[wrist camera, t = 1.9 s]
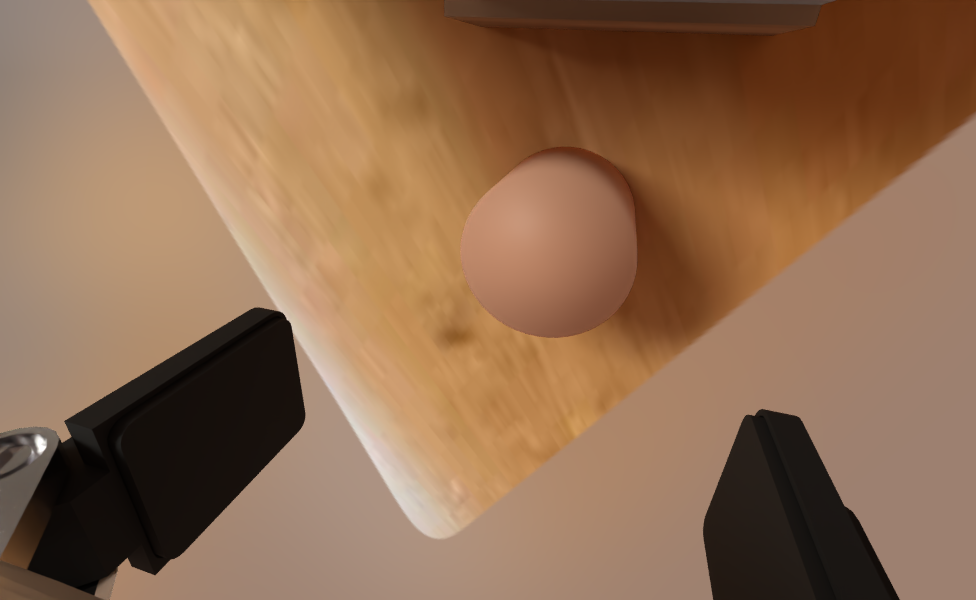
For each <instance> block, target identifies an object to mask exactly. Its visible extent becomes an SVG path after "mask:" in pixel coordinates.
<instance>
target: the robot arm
mask: <svg viewBox="0 0 976 600" xmlns="http://www.w3.org/2000/svg"><path fill="white" fill-rule="evenodd" d="M304 421H305V408H304V402H303V396H302V389H301V383H300V377H299V371H298V364H297V358H296V352H295V345H294V340H293V333H292V327H291V323H290V322H289V321H288V320H287V319H286V317H285V315H284V314H283V313H281V312H279V311H274V310H269V309H264V308H253V309H251V310H249V311H247V312H246V313H244V314H242V315H241V316H239V317H237V318H236V319H234V320H232V321H231V322H229V323H227V324H226V325H224V326H222V327H221V328H219V329H217V330H216V331H214V332H212V333H211V334H209V335H207V336H206V337H204V338H202V339H201V340H199V341H197V342H196V343H194V344H192V345H191V346H189V347H187V348H186V349H184V350H182V351H180V352H179V353H177V354H175V355H174V356H172V357H170V358H169V359H167V360H165V361H164V362H162V363H160V364H159V365H157V366H155V367H154V368H152V369H151V370H149V371H147V372H146V373H144V374H142V375H140V376H139V377H137V378H135V379H134V380H132V381H130V382H129V383H127V384H125V385H124V386H122V387H120V388H119V389H117V390H115V391H114V392H112V393H110V394H109V395H107V396H106V397H104V398H102V399H100V400H99V401H97V402H95V403H94V404H92V405H91V406H89V407H87V408H85V409H84V410H82V411H80V412H79V413H77V414H76V415H74V416H72V417H71V418H69V419H67V420H65V421H64V422H65V424H66V426H67V428H68V430H69V432H70V434H71V436H72V437H71V438H70V439H68V440H66V441H65V442H63V443H62V442H61V440H60V438H59V436H58V435H57V433H56V431H54V430H51V429H49V428H45V427H28V428H19V429H15V430H11V431H7V432H4V433H0V600H110V597H111V593H112V589H113V585H114V582H115V578H116V575H117V571H118V566H119V565H120V564H121V563H122V562H123V561H124V560H125V559H127V558H128V559H129V561H130V564H131V566H132V567H135V568H137V569H140V570H143V571H145V572H148V573H151V574H153V575H156V574H157V573H158V572H159V571H160V570H161V569H162V568H163V567H164V566H165V565H166V564H167V562H168V561H170V559H175V558H177V557H178V556H180V555H181V554H182V553H183V552H184V551H185V550H186V549H187V548H188V547H189V546H190V545H191V544H192V543H193V542H194V541H195V540H196V539H197V538H198V536H200V535H201V533H202V532H203V531H204V530H205V529H206V528H207V527H208V526H209V525H210V524H211V523H212V522H213V521H214V520H215V519H216V518H217V517H218V516H219V515H220V514H221V513H222V511H223V510H224V509H225V508H226V507H227V506H228V505H229V504H230V503H231V502H232V501H233V500H234V499H235V498H236V497H237V496H238V495H239V494H240V493H241V491H242V490H243V489H244V488H245V487H246V486H247V485H248V484H249V483H250V482H251V481H252V480H253V479H254V478H255V477H256V476H257V475H258V474H259V472H261V470H262V469H263V468H264V467H265V466H266V465H267V464H268V463H269V462H270V461H271V460H272V459H273V458H274V457H275V456H276V455H277V453H279V452H280V450H281V449H282V448H283V447H284V446H285V445H286V444H287V443H288V442H289V441H290V440H291V439H292V438H293V437H294V436H295V435H296V434H297V433H298V432H299V430H300V429H301V428H302V426H303V424H304ZM703 537H704V544H705V550H706V557H707V563H708V569H709V576H710V582H711V588H712V595H713V600H900V599H899V597H898V596H897V594H896V592H895V590H894V588H893V586H892V584H891V582H890V580H889V578H888V576H887V574H886V573H885V571H884V568H883V567H882V565H881V563H880V561H879V559H878V557H877V555H876V553H875V551H874V549H873V547H872V545H871V543H870V542H869V540H868V538H867V536H866V534H865V532H864V530H863V528H862V526H861V524H860V522H859V520H858V519H857V517H856V516H855V514H854V513H853V512H852V511H851V510H849V509H848V508H847V507H845V506H844V504H843V502H842V500H841V499H840V496H839V494H838V492H837V490H836V488H835V486H834V485H833V482H832V480H831V478H830V476H829V474H828V472H827V471H826V468H825V466H824V464H823V462H822V460H821V458H820V456H819V454H818V452H817V450H816V448H815V446H814V444H813V442H812V440H811V438H810V436H809V434H808V432H807V430H806V429H805V426H804V424H803V422H802V421H801V419H800V418H799V417H797V416H794V415H789V414H784V413H779V412H773V411H769V410H764V409H761V410H759V411H758V412H757V413H756V415H755V416H752V415H746V416H745V417H744V419H743V421H742V423H741V426H740V428H739V431H738V434H737V436H736V439H735V442H734V444H733V446H732V449H731V452H730V454H729V457H728V459H727V462H726V465H725V467H724V470H723V472H722V475H721V477H720V480H719V482H718V485H717V488H716V490H715V493H714V495H713V498H712V501H711V503H710V506H709V508H708V511H707V513H706V516H705V519H704V527H703Z"/></svg>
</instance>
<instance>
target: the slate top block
mask: <svg viewBox="0 0 976 600" xmlns="http://www.w3.org/2000/svg"><path fill="white" fill-rule="evenodd" d="M603 1H654V2H705V3H757V4H808V5H823V4H826V3H829V2H832V1H835V0H603Z"/></svg>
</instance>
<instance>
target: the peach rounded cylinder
mask: <svg viewBox="0 0 976 600" xmlns="http://www.w3.org/2000/svg"><path fill="white" fill-rule="evenodd" d="M461 262H462V268H463V272H464V275H465V278H466V281H467V283H468V285H469V287H470V289H471V291H472V293H473V294H474V296H475V297H476V299H477V300H478V301H479V303H480V304H481V305H482V306H483V307H484V308H485V309H486V310H487V311H488V312H489V313H490V314H491V315H492V316H493V317H495V318H496V319H497V320H499V321H500V322H502V323H503V324H505V325H507V326H509V327H511V328H513V329H515V330H517V331H520V332H523V333H525V334H529V335H534V336H539V337H554V338H558V337H567V336H572V335H577V334H580V333H583V332H586V331H589V330H591V329H593V328H595V327H597V326H598V325H600V324H601V323H603V322H604V321H606V320H607V319H608V318H610V317H611V316H612V315H613V314H614V313H615V312H616V311H617V310H618V309H619V308H620V306H621V305H622V304H623V302H624V301H625V299H626V298H627V296H628V294H629V292H630V290H631V288H632V286H633V283H634V279H635V276H636V270H637V236H636V217H635V206H634V200H633V196H632V193H631V190H630V188H629V186H628V184H627V182H626V180H625V179H624V177H623V176H622V174H621V173H620V172H619V171H618V170H617V169H616V168H615V167H614V166H613V165H612V164H611V163H610V162H609V161H607V160H606V159H604V158H603V157H601V156H599V155H597V154H595V153H593V152H591V151H588V150H584V149H581V148H574V147H556V148H550V149H546V150H542V151H540V152H537V153H535V154H533V155H531V156H529V157H528V158H526V159H524V160H523V161H522V162H521V163H519V164H518V165H517V166H516V167H515V168H514V169H512V170H511V171H510V172H509V173H508V174H507V175H506V176H505V177H504V178H502V179H501V180H500V181H499V182H498V183H497V184H496V185H495V186H493V187H492V188H491V189H490V190H489V191H488V192H487V193H486V194H485V195H484V196H483V197H482V198H481V199H480V200H479V201H478V202H477V204H476V205H475V206H474V208H473V209H472V211H471V213H470V215H469V217H468V218H467V221H466V224H465V226H464V229H463V234H462V238H461Z"/></svg>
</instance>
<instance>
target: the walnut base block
mask: <svg viewBox="0 0 976 600" xmlns="http://www.w3.org/2000/svg"><path fill="white" fill-rule="evenodd" d="M820 8H821V5H808V4H757V3H705V2H654V1H603V0H444V16H445V17H449V18H452V19H456V20H460V21H463V22H467V23H471V24H474V25H478V26H482V27H507V28H539V29H572V30H605V31H637V32H670V33H703V34H736V35H768V36H772V35H777V34H781V33H786V32H790V31H794V30H799V29H803V28H808V27H812V26H815V24H816V21H817V18H818V15H819V12H820Z"/></svg>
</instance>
